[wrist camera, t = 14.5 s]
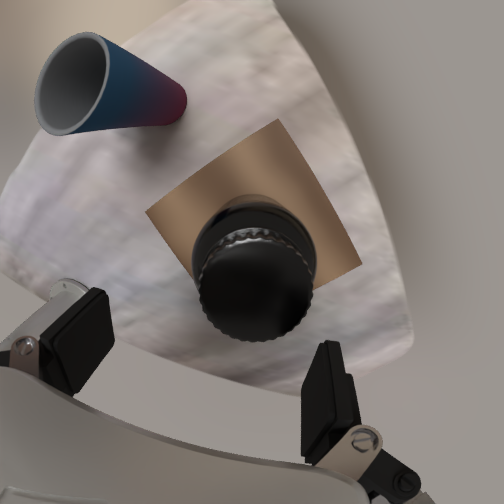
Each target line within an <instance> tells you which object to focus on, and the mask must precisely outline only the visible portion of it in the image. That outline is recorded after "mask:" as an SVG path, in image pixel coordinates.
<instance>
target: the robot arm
mask: <svg viewBox="0 0 504 504" xmlns="http://www.w3.org/2000/svg"><path fill="white" fill-rule="evenodd" d="M114 342H115V338H114V332H113V326H112V319H111V312H110V305H109V297H108V295H107V294H106V292H105V291H104V290H102V289H99V288H96V287H93V288H91V289H90V290H88V289H87V288H86V287H85V286H83V285H82V284H80V283H78V282H76V281H74V280H71V279H61V280H59V281H58V282H56V283H55V284H54V285H53V286H52V288H51V290H50V300H49V301H48V302H47V303H46V304H44V305H43V306H42V307H41V308H40V309H38V310H37V311H36V312H35V313H34V314H33V315H31V316H30V317H29V318H28V319H27V320H26V321H24V322H23V323H22V324H21V325H20V326H19V327H18V328H16V329H15V330H14V331H13V332H12V333H11V334H10V335H9V336H8V337H7V338H6V339H4V340H3V342H1V343H0V504H435V503H434V501H433V500H432V499H431V498H430V496H429V495H428V494H427V493H426V492H424V493H422V491H421V490H420V488H421V480H420V477H419V476H418V474H417V473H416V472H414V471H413V470H411V469H410V468H408V467H407V466H406V465H404V464H403V463H401V462H400V461H398V460H397V459H396V458H394V457H393V456H391V455H390V454H388V453H387V452H386V451H384V450H383V449H382V444H383V440H382V437H381V435H380V433H379V432H378V431H377V430H376V429H375V428H373V427H370V426H367V425H362V423H361V417H360V412H359V406H358V401H357V396H356V391H355V386H354V381H353V377H352V375H351V374H347V373H346V372H345V367H344V362H343V357H342V352H341V347H340V343H339V342H337V341H330V340H325V342H324V343H320V344H319V346H318V349H317V351H316V354H315V356H314V359H313V361H312V364H311V366H310V368H309V371H308V373H307V375H306V378H305V380H304V382H303V385H302V389H301V456H303V457H305V463H309V464H312V466H309V465H305V464H296V463H290V462H282V461H274V460H268V459H261V458H254V457H248V456H243V455H238V454H232V453H227V452H222V451H217V450H213V449H209V448H205V447H200V446H197V445H193V444H189V443H186V442H182V441H179V440H176V439H172V438H169V437H166V436H163V435H160V434H157V433H154V432H151V431H148V430H145V429H142V428H139V427H137V426H134V425H132V424H129V423H127V422H124V421H122V420H119V419H117V418H115V417H112V416H110V415H108V414H105V413H103V412H101V411H99V410H96V409H94V408H92V407H90V406H88V405H86V404H84V403H82V402H80V401H78V400H76V399H74V398H72V397H73V396H74V394H75V393H78V392H80V390H81V389H82V387H83V386H84V385H85V383H86V382H87V380H88V379H89V378H90V376H91V375H92V374H93V372H94V371H95V370H96V368H97V367H98V366H99V364H100V362H101V361H102V360H103V359H104V357H105V356H106V355H107V354H108V352H109V351H110V350H111V348H112V347H113V345H114Z"/></svg>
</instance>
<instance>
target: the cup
mask: <svg viewBox="0 0 504 504" xmlns="http://www.w3.org/2000/svg"><path fill="white" fill-rule="evenodd" d="M34 104H35V112H36V117H37V119H38V122H39V124H40V125H41V127H42V128H43V129H44V130H45V131H46V132H47V133H49V134H52V135H55V136H63V135H69V134H75V133H82V132H90V131H98V130H106V129H116V128H127V127H141V126H161V125H168V124H171V123H173V122H175V121H176V120H177V119H178V118H179V117H180V116H181V115H182V114H183V112H184V110H185V108H186V104H187V96H186V93H185V90H184V89H183V87H182V86H181V85H180V84H178V83H177V82H175V81H174V80H172V79H171V78H169V77H168V76H166V75H165V74H163V73H162V72H160V71H159V70H157V69H155V68H154V67H152V66H151V65H149V64H148V63H146V62H144V61H143V60H141V59H140V58H138V57H136V56H135V55H133V54H131V53H130V52H128V51H126V50H125V49H123V48H121V47H119V46H118V45H116V44H114V43H112V42H110V41H109V40H107V39H105V38H103V37H101V36H100V35H97V34H95V33H92V32H83V33H78V34H76V35H73V36H71V37H69V38H68V39H66V40H65V41H63V42H62V43H61V44H60V45H59V46H58V47H57V48H56V49H55V50H54V51H53V52H52V54H51V55H50V56H49V58H48V59H47V61H46V62H45V64H44V66H43V69H42V70H41V72H40V75H39V78H38V81H37V85H36V89H35V98H34Z"/></svg>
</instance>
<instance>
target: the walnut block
mask: <svg viewBox="0 0 504 504" xmlns="http://www.w3.org/2000/svg"><path fill="white" fill-rule="evenodd" d="M245 194H260V195H264V196H267V197H270V198H272V199H274V200H276V201H277V202H279V203H280V204H281V205H283V206H284V207H285V208H287V209H288V210H289V211H290V212H292V213H293V214H294V215H295V216H296V217H297V218H298V219H299V220H300V221H301V222H302V223H303V224H304V225H305V227H306V228H307V230H308V231H309V233H310V235H311V237H312V239H313V241H314V244H315V248H316V252H317V272H316V277H315V280H314V283H313V284H314V286H313V290H314V289H316V288H318V287H320V286H322V285H324V284H326V283H328V282H330V281H332V280H334V279H336V278H337V277H339V276H341V275H343V274H345V273H347V272H349V271H351V270H352V269H354V268H356V267H358V266H360V265H362V262H361V260H360V258H359V256H358V254H357V252H356V250H355V248H354V246H353V244H352V242H351V240H350V238H349V236H348V234H347V232H346V230H345V228H344V226H343V225H342V223H341V221H340V219H339V217H338V215H337V213H336V212H335V210H334V208H333V206H332V204H331V203H330V201H329V199H328V197H327V196H326V194H325V192H324V190H323V189H322V187H321V185H320V184H319V182H318V180H317V178H316V177H315V175H314V173H313V172H312V170H311V168H310V167H309V165H308V164H307V162H306V160H305V159H304V157H303V156H302V154H301V152H300V151H299V149H298V148H297V146H296V144H295V143H294V141H293V140H292V138H291V137H290V135H289V134H288V132H287V131H286V129H285V128H284V126H283V125H282V123H281V122H280V120H279V119H276V120H275V121H273V122H271V123H270V124H268V125H266V126H265V127H263V128H262V129H260V130H258V131H257V132H255V133H254V134H252V135H250V136H249V137H247V138H246V139H244V140H243V141H241V142H240V143H238V144H237V145H235V146H234V147H232V148H231V149H229V150H228V151H226V152H225V153H223V154H222V155H220V156H219V157H217V158H216V159H214V160H213V161H212V162H210V163H209V164H207V165H206V166H204V167H203V168H202V169H200V170H199V171H197V172H196V173H195V174H193V175H192V176H191V177H189V178H188V179H187V180H185V181H184V182H183V183H181V184H180V185H179V186H177V187H176V188H175V189H173V190H172V191H171V192H169V193H168V194H167V195H166V196H164V197H163V198H162V199H160V200H159V201H158V202H157V203H155V204H154V205H153V206H152V207H150V208H149V209H148V210H147V211H145V213H146V214H147V215H148V217H149V218H150V220H151V221H152V223H153V224H154V226H155V227H156V229H157V230H158V231H159V233H160V234H161V236H162V237H163V239H164V240H165V241H166V243H167V244H168V246H169V247H170V248H171V250H172V251H173V253H174V254H175V255H176V257H177V258H178V260H179V261H180V262H181V264H182V265H183V266H184V268H185V269H186V270H187V272H188V273H189V275H190V276H191V277H192V279H193V276H192V270H191V256H192V250H193V246H194V243H195V240H196V238H197V236H198V234H199V232H200V231H201V229H202V227H203V226H204V225H205V224H206V222H207V221H208V220H209V219H210V218H211V217H212V216H213V215H214V214H215V213H216V212H217V211H218V210H219V209H220V208H221V207H222V206H223V205H224V204H225V203H226V202H228V201H229V200H231V199H233V198H235V197H238V196H241V195H245ZM193 280H194V279H193Z"/></svg>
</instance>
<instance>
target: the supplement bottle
mask: <svg viewBox="0 0 504 504" xmlns="http://www.w3.org/2000/svg"><path fill="white" fill-rule="evenodd" d="M191 270H192V276H193V279H194V283H195V285H196V287H197V290H198V292H199V294H200V298H199V301H200V303H201V304H202V309H203V312H204V313H205V314H206V315H207V318H208V320H209V321H211V322H212V323H213V325H214V327H215V328H217V329H220V330H221V332H222V333H223V334H226V335H229V336H230V337H231V338H234V339H239V340H241V341H249V342H257V341H260V342H265V341H267V340H274V339H276V338H277V337H281V336H284V335H285V334H286V333H287V332H290V331H292V330H293V329H294V327H295V326H297V325H298V324H300V322H301V320H302V318H304V317H305V316H306V314H307V310H308V309H309V307H310V306H311V299H312V297H313V292H312V290H313V286H314V284H313V283H314V280H315V277H316V272H317V252H316V248H315V244H314V241H313V239H312V237H311V235H310V233H309V231H308V230H307V228H306V227H305V225H304V224H303V223H302V222H301V221H300V220H299V219H298V218H297V217H296V216H295V215H294V214H293V213H292V212H290V211H289V210H288V209H287V208H285V207H284V206H283V205H281V204H280V203H279V202H277V201H276V200H274V199H272V198H270V197H267V196H264V195H260V194H245V195H241V196H238V197H235V198H233V199H231V200H229V201H228V202H226V203H225V204H224V205H223V206H222V207H221V208H220V209H219V210H218V211H217V212H216V213H215V214H214V215H213V216H212V217H211V218H210V219H209V220H208V221H207V222H206V224H205V225H204V226H203V227H202V229H201V231H200V232H199V234H198V236H197V238H196V240H195V243H194V246H193V250H192V256H191Z"/></svg>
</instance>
